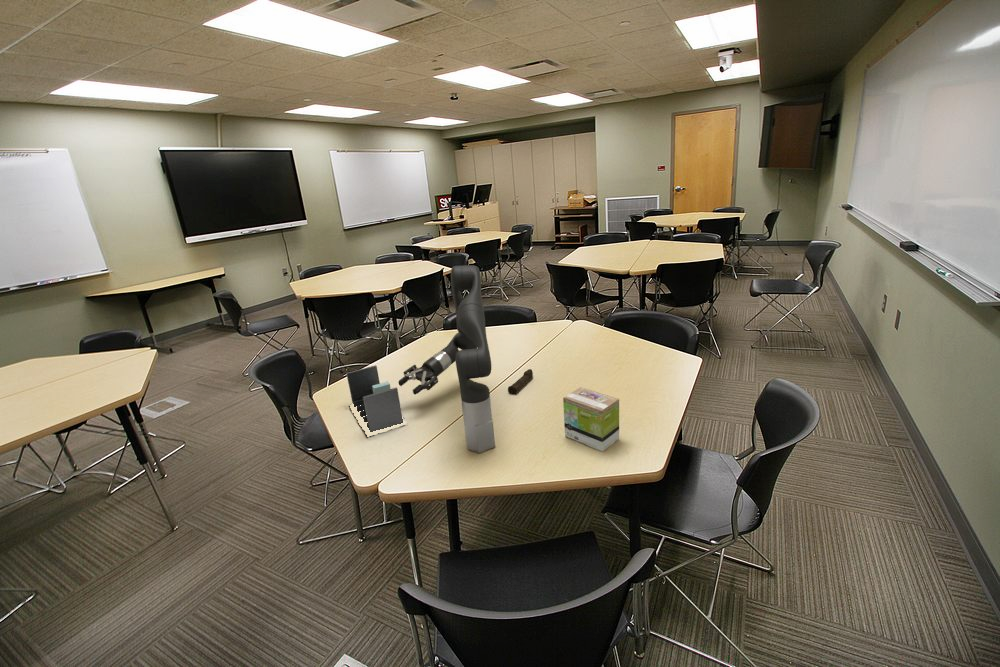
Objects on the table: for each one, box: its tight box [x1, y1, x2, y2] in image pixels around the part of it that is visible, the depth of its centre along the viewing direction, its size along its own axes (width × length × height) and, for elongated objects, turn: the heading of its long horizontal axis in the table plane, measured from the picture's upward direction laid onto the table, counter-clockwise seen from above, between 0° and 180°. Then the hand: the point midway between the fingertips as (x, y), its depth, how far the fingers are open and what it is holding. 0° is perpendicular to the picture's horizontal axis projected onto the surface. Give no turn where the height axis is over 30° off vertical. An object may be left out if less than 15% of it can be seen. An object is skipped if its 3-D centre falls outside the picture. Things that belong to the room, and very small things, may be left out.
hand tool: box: [507, 368, 534, 396], centre depth 192 cm, size 19×4×5 cm, turn 148°
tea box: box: [562, 386, 620, 452], centre depth 147 cm, size 15×10×15 cm, turn 45°
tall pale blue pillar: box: [372, 381, 392, 394], centre depth 175 cm, size 3×6×12 cm, turn 119°
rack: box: [345, 364, 403, 432], centre depth 175 cm, size 30×15×15 cm, turn 30°
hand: (406, 388), depth 173 cm, fingers open, 8 cm apart
